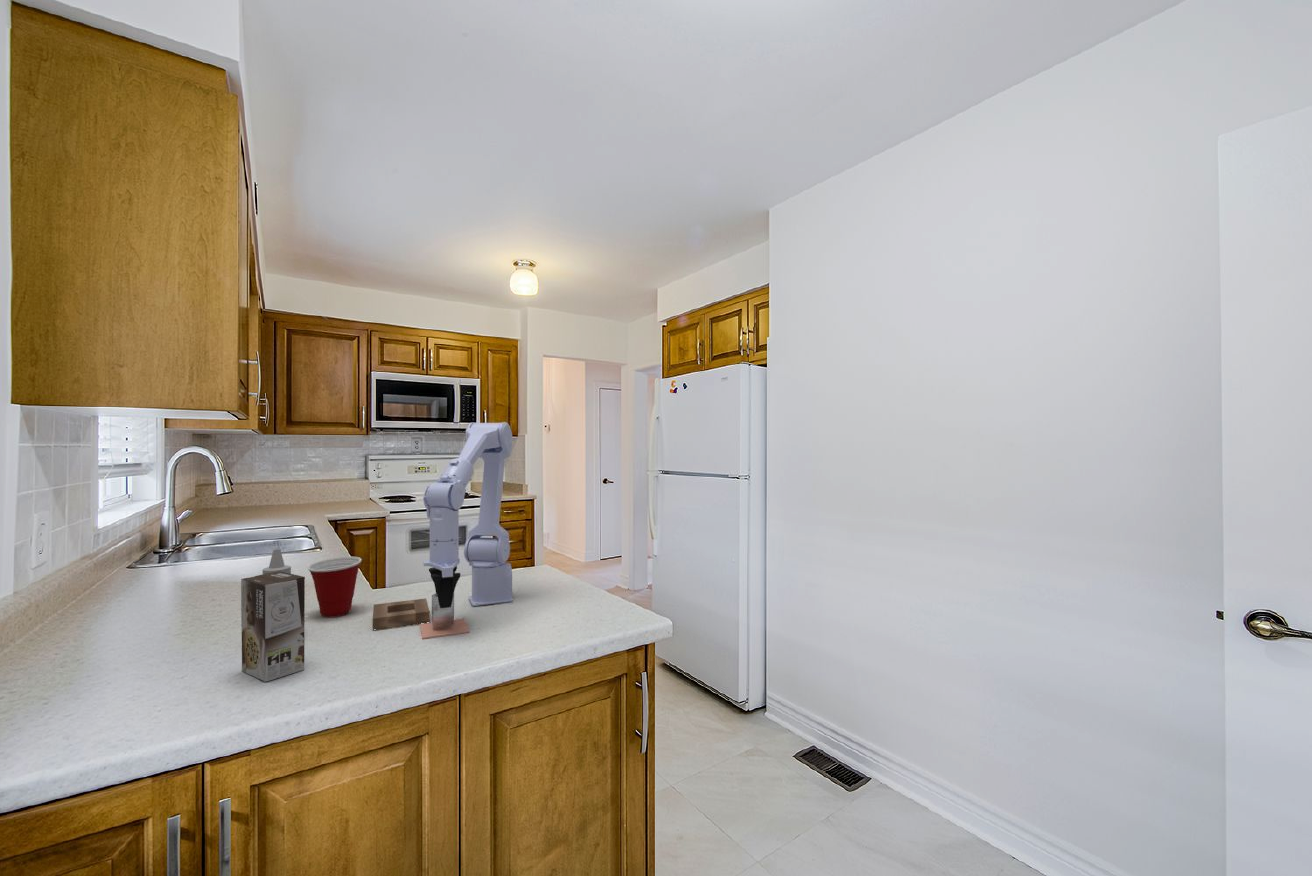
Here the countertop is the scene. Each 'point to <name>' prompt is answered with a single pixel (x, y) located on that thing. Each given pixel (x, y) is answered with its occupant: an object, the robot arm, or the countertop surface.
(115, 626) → the countertop surface
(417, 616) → the socket block
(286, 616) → the coffee box
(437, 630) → the rubber mat
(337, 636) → the countertop surface
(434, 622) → the metal plug
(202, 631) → the countertop surface
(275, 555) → the squeeze bottle
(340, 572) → the plastic cup
